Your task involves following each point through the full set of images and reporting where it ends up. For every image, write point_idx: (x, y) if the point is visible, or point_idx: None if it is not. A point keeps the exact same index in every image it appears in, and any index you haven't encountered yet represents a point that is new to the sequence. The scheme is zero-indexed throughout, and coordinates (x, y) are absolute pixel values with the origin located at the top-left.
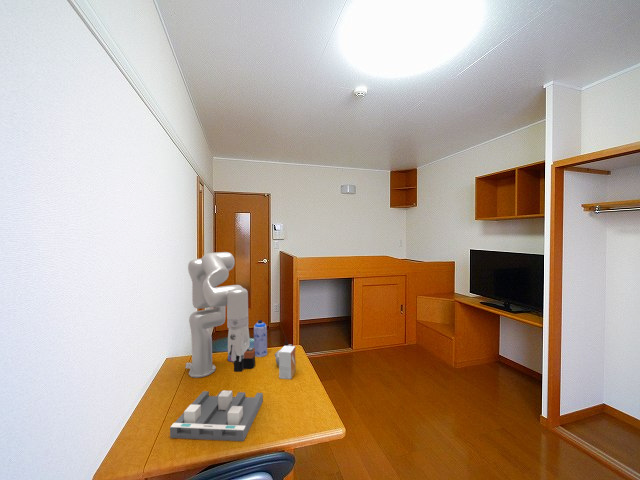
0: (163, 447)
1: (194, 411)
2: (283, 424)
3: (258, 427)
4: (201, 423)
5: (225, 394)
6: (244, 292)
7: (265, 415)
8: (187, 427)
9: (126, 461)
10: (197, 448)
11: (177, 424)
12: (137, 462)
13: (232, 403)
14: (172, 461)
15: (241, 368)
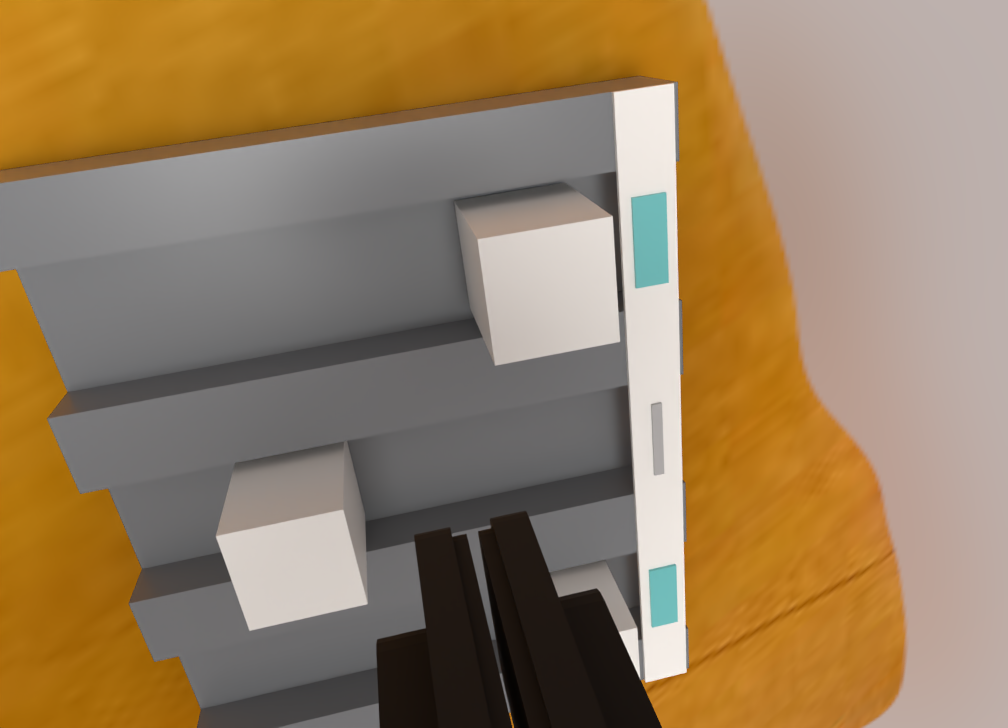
0: (736, 589)
1: (634, 632)
2: None
3: (442, 9)
4: (624, 509)
5: (313, 558)
6: None
7: (237, 14)
8: (683, 569)
9: (833, 671)
10: (734, 394)
11: (661, 650)
12: (840, 621)
13: (297, 434)
14: (836, 463)
15: (546, 573)
